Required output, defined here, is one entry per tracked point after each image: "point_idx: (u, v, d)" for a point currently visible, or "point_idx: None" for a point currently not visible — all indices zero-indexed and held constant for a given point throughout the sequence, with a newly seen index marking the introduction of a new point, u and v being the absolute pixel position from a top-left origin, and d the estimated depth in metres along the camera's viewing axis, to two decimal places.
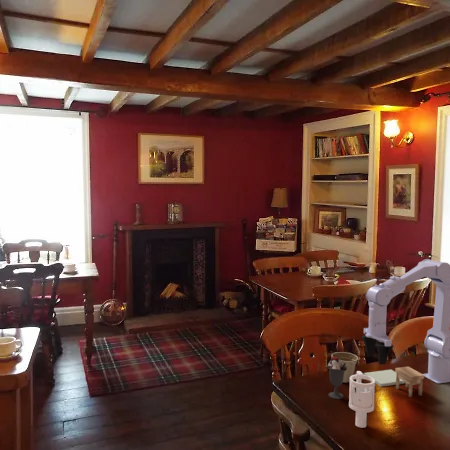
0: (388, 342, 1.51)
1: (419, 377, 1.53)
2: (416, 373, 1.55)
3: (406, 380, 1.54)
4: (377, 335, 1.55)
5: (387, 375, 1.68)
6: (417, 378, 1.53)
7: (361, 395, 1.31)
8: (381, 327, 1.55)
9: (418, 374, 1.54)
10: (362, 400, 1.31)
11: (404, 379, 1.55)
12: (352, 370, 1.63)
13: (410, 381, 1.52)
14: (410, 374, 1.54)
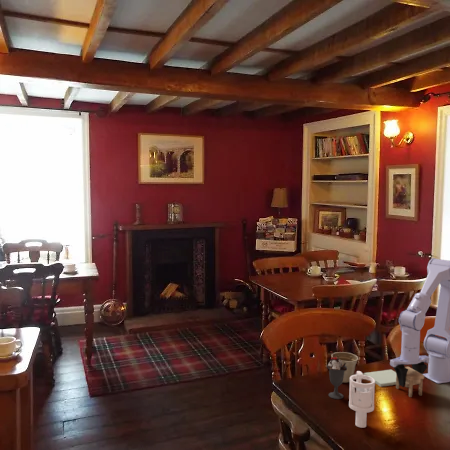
0: (391, 362, 1.54)
1: (419, 377, 1.53)
2: (416, 373, 1.55)
3: (406, 380, 1.54)
4: (401, 356, 1.56)
5: (387, 375, 1.68)
6: (417, 378, 1.53)
7: (361, 395, 1.31)
8: (403, 350, 1.55)
9: (418, 374, 1.54)
10: (362, 400, 1.31)
11: None
12: (352, 370, 1.63)
13: (410, 381, 1.52)
14: (410, 374, 1.54)
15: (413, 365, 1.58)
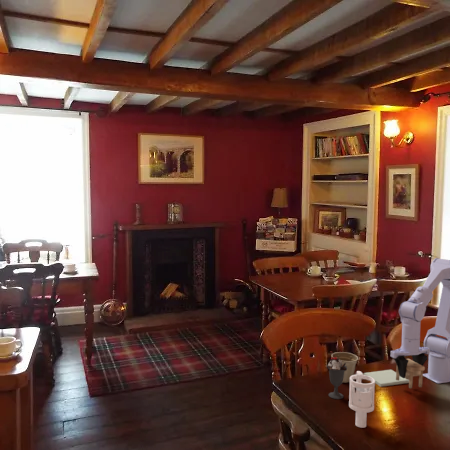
0: (392, 353, 1.54)
1: (419, 369, 1.53)
2: (417, 365, 1.55)
3: (406, 371, 1.54)
4: (401, 348, 1.56)
5: (387, 375, 1.68)
6: (417, 369, 1.52)
7: (361, 395, 1.31)
8: (403, 341, 1.55)
9: (419, 366, 1.53)
10: (362, 400, 1.31)
11: None
12: (352, 370, 1.63)
13: (410, 372, 1.52)
14: (410, 365, 1.54)
15: (413, 356, 1.58)
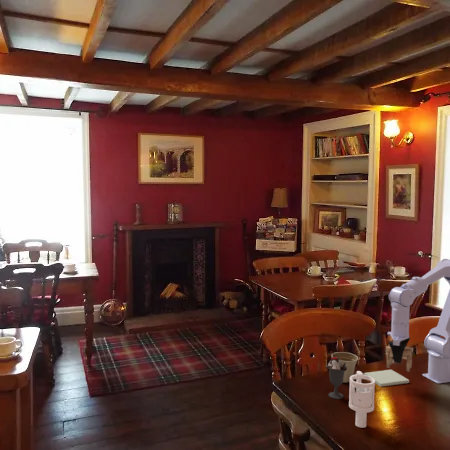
0: (395, 341, 1.54)
1: (412, 350, 1.59)
2: (406, 347, 1.61)
3: (402, 356, 1.58)
4: (394, 334, 1.59)
5: (387, 375, 1.68)
6: (411, 351, 1.58)
7: (361, 395, 1.31)
8: (398, 327, 1.57)
9: (409, 348, 1.60)
10: (362, 400, 1.31)
11: None
12: (352, 370, 1.63)
13: (409, 356, 1.57)
14: (405, 349, 1.58)
15: None
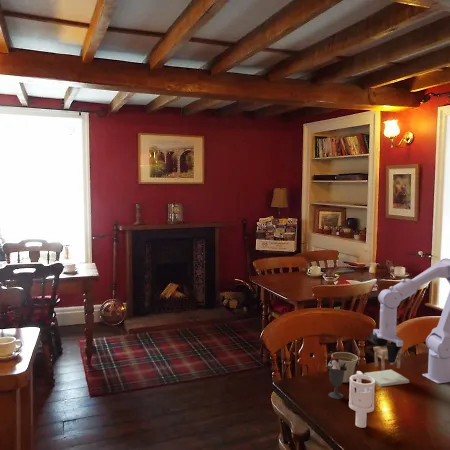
0: (400, 342, 1.59)
1: None
2: None
3: None
4: (388, 336, 1.63)
5: (387, 375, 1.68)
6: None
7: (361, 395, 1.31)
8: (392, 328, 1.63)
9: None
10: (362, 400, 1.31)
11: None
12: (352, 370, 1.63)
13: (399, 353, 1.65)
14: None
15: (379, 341, 1.68)
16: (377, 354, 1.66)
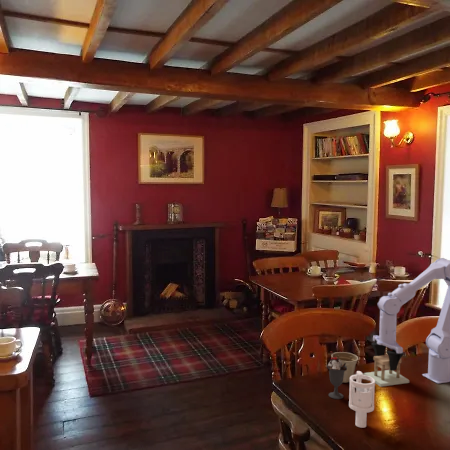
0: (400, 349, 1.59)
1: None
2: None
3: None
4: (388, 343, 1.63)
5: (387, 375, 1.68)
6: None
7: (361, 395, 1.31)
8: (392, 335, 1.63)
9: None
10: (362, 400, 1.31)
11: None
12: (352, 370, 1.63)
13: (399, 363, 1.65)
14: None
15: (377, 347, 1.69)
16: (377, 364, 1.66)
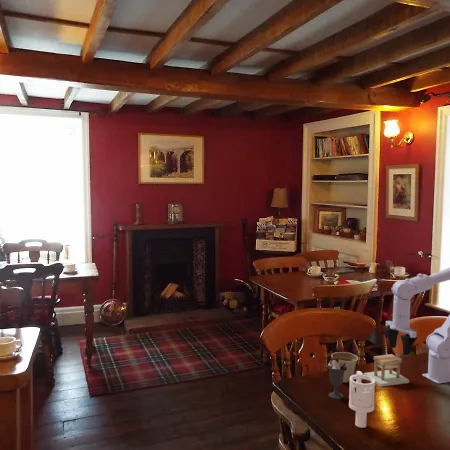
0: (413, 333, 1.59)
1: None
2: (389, 356, 1.68)
3: (394, 365, 1.65)
4: (402, 327, 1.63)
5: (387, 375, 1.68)
6: None
7: (361, 395, 1.31)
8: (405, 320, 1.63)
9: (392, 355, 1.68)
10: (362, 400, 1.31)
11: (392, 366, 1.64)
12: (352, 370, 1.63)
13: (399, 363, 1.65)
14: (394, 358, 1.66)
15: (390, 332, 1.69)
16: (377, 364, 1.66)
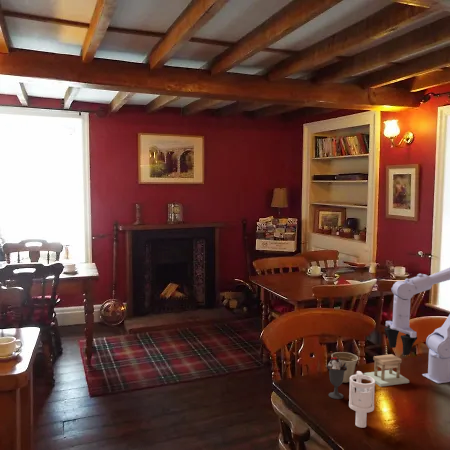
0: (413, 333, 1.59)
1: None
2: (389, 356, 1.68)
3: (394, 365, 1.65)
4: (402, 327, 1.63)
5: (387, 375, 1.68)
6: None
7: (361, 395, 1.31)
8: (405, 320, 1.63)
9: (392, 355, 1.68)
10: (362, 400, 1.31)
11: (392, 366, 1.64)
12: (352, 370, 1.63)
13: (399, 363, 1.65)
14: (394, 358, 1.66)
15: (390, 332, 1.69)
16: (377, 364, 1.66)
